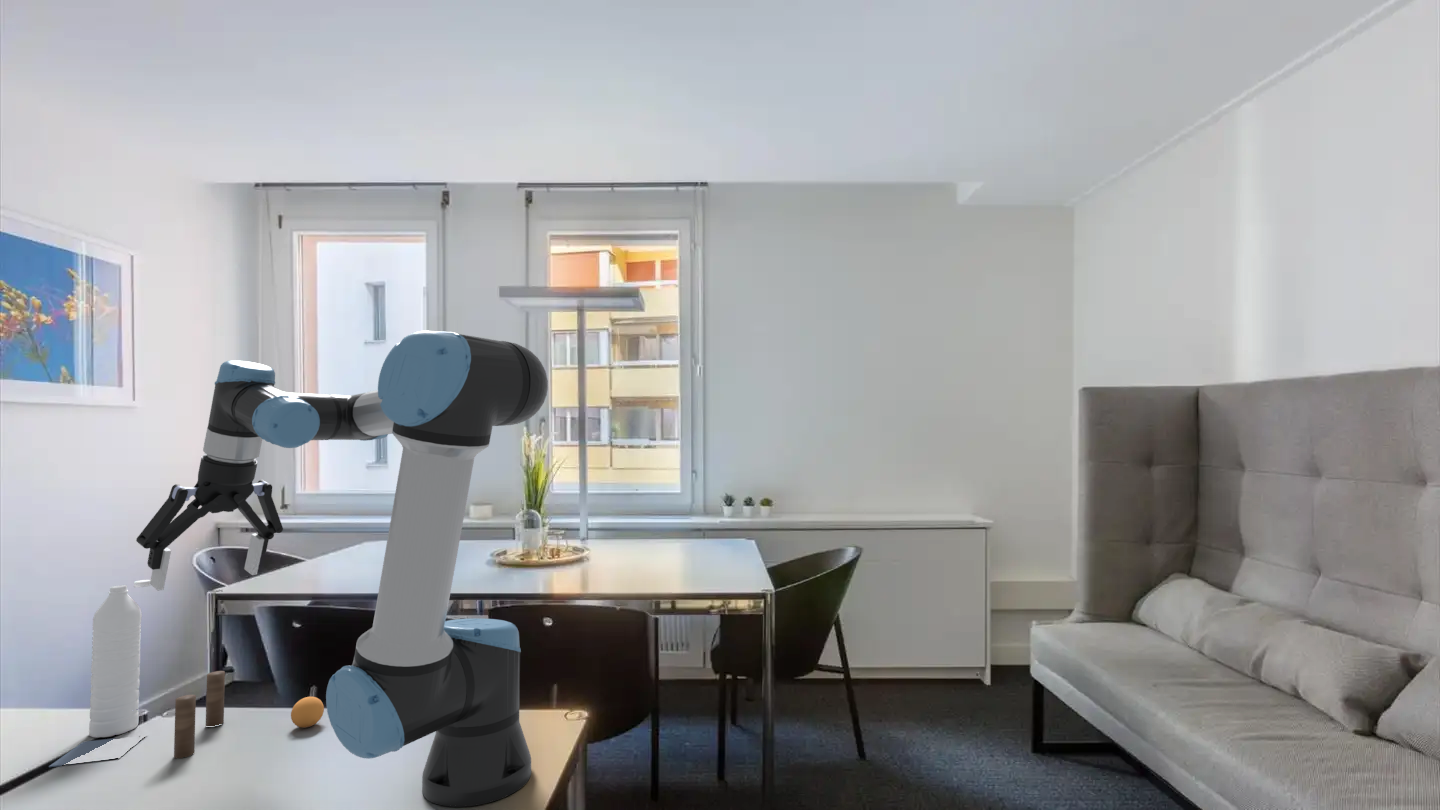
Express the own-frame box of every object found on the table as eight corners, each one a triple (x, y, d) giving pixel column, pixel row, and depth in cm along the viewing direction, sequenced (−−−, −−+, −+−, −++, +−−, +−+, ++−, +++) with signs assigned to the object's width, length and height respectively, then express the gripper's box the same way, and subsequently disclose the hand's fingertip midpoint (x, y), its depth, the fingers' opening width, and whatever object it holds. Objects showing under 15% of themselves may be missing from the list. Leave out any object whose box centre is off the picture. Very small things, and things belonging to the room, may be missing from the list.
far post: (220, 726, 121) (221, 674, 122) (203, 728, 121) (204, 676, 121) (226, 721, 124) (227, 670, 124) (209, 723, 123) (210, 671, 124)
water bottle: (109, 739, 117) (114, 590, 118) (78, 737, 118) (83, 589, 119) (160, 719, 125) (164, 580, 126) (130, 716, 126) (134, 579, 128)
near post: (190, 757, 110) (191, 699, 110) (170, 759, 109) (172, 701, 110) (197, 750, 112) (198, 693, 113) (178, 752, 112) (179, 695, 112)
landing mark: (119, 758, 109) (119, 757, 109) (48, 767, 107) (48, 766, 107) (147, 735, 118) (147, 734, 118) (82, 743, 115) (82, 741, 115)
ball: (319, 730, 120) (320, 700, 120) (286, 734, 118) (287, 704, 118) (326, 719, 124) (327, 690, 125) (295, 722, 123) (295, 694, 123)
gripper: (296, 447, 124) (273, 558, 126) (125, 450, 102) (100, 584, 104) (320, 460, 121) (295, 574, 123) (148, 466, 99) (121, 604, 101)
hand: (206, 579), depth 113 cm, fingers open, 13 cm apart
